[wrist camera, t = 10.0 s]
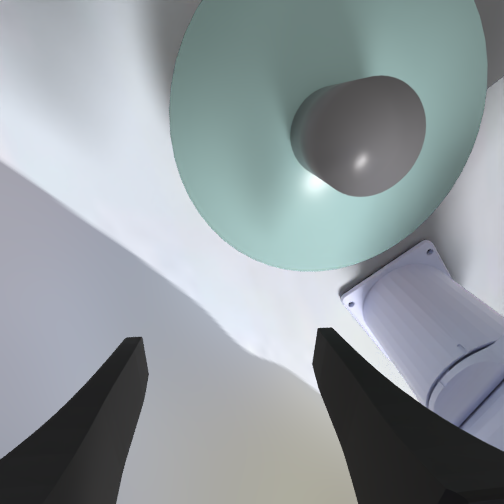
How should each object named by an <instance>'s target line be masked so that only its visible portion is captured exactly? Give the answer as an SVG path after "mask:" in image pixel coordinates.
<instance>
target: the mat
mask: <svg viewBox="0 0 504 504" xmlns="http://www.w3.org/2000/svg"><path fill="white" fill-rule="evenodd" d="M474 2H475V4H476V7H477V10H478V12H479V15H480V19H481V23H482V27H483V32H484V36H485V42H486V52H487V62H488V67H487V89H488V88H489V87H490V86H491V85H493V84H494V83H495V82H497V81H498V80H499V79H501V78H502V77H503V76H504V0H474Z"/></svg>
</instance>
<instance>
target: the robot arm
mask: <svg viewBox="0 0 504 504" xmlns="http://www.w3.org/2000/svg"><path fill="white" fill-rule="evenodd" d="M429 249H430V251H429V252H428V253H427V251H428V250H429ZM341 302H342V303H343V304H344V306H345V307H346V308H347V309H348V311H349V312H350V313H351V314H352V315H353V317H354V318H355V319H356V320H357V322H358V323H359V324H360V325H361V326H362V328H363V329H364V330H365V331H366V332H367V334H368V335H369V336H370V337H371V339H372V340H373V341H374V342H375V343H376V345H377V346H378V347H379V348H380V350H381V351H382V352H383V353H384V354H385V356H386V357H387V358H388V359H389V360H390V361H392V363H393V364H394V365H395V367H396V368H397V370H398V371H399V373H400V374H401V376H402V377H403V379H404V380H405V381H406V383H407V384H408V386H409V387H410V389H411V390H412V392H413V393H414V395H415V396H416V397H417V399H418V400H419V402H420V403H419V402H418V401H416V400H415V399H414V398H412V397H411V396H409V395H408V394H407V393H405V392H404V391H403V390H401V389H400V388H398V387H397V386H396V385H395V384H393V383H392V382H391V381H390V380H388V379H387V378H386V377H385V376H384V375H382V374H381V373H380V372H379V371H378V370H376V369H375V368H374V367H373V366H372V365H371V364H370V363H368V362H367V361H366V360H365V359H364V358H363V357H362V356H361V355H360V354H359V353H358V352H357V351H355V350H354V349H353V348H352V347H351V346H350V345H349V344H348V343H347V342H346V341H345V340H344V339H343V338H342V337H341V336H340V335H339V334H338V333H337V332H336V331H335V330H334V329H333V328H318V330H317V337H316V344H315V350H314V357H313V363H312V365H313V369H314V373H315V377H316V380H317V384H318V388H319V390H320V393H321V396H322V398H323V401H324V403H325V406H326V408H327V411H328V413H329V416H330V418H331V421H332V423H333V426H334V428H335V431H336V433H337V436H338V439H339V441H340V444H341V447H342V449H343V452H344V456H345V459H346V462H347V465H348V469H349V472H350V476H351V479H352V483H353V486H354V490H355V493H356V497H357V501H358V504H504V317H503V316H502V315H500V314H499V313H498V312H496V311H495V310H494V309H492V308H491V307H489V306H488V305H487V304H485V303H484V302H483V301H481V300H480V299H478V298H477V297H476V296H474V295H473V294H472V293H470V292H469V291H467V290H466V289H465V288H463V287H462V286H461V285H459V284H458V283H456V282H455V281H454V280H453V279H452V277H451V275H450V273H449V272H448V270H447V268H446V266H445V264H444V263H443V261H442V259H441V257H440V255H439V253H438V252H437V250H436V248H435V246H434V244H433V243H432V242H431V241H429V240H423V241H421V242H420V243H419V244H417V245H416V246H414V247H413V248H411V249H410V250H408V251H407V252H405V253H404V254H402V255H401V256H399V257H398V258H396V259H395V260H393V261H392V262H390V263H389V264H387V265H386V266H385V267H383V268H382V269H380V270H379V271H377V272H376V273H374V274H373V275H371V276H370V277H368V278H367V279H365V280H364V281H362V282H361V283H359V284H358V285H356V286H355V287H353V288H352V289H351V290H349V291H348V292H346V293H345V294H343V295H342V297H341ZM350 302H352V303H351V304H349V303H350ZM148 375H149V373H148V367H147V362H146V356H145V351H144V344H143V339H142V337H129V338H125V339H124V340H123V342H122V343H121V344H120V345H119V346H118V348H117V349H116V350H115V351H114V352H113V353H112V355H111V356H110V357H109V358H108V359H107V360H106V362H105V363H104V364H103V365H102V366H101V367H100V368H99V370H98V371H97V372H96V373H95V374H94V375H93V376H92V377H91V378H90V380H89V381H88V382H87V383H86V384H85V385H84V386H83V387H82V388H81V389H80V390H79V391H78V392H77V393H76V394H75V395H74V396H73V398H71V399H70V400H69V401H68V402H67V403H66V404H65V405H64V406H63V407H62V408H61V409H60V410H59V411H58V412H57V413H56V414H55V415H54V416H52V417H51V418H50V419H49V420H48V421H47V422H46V423H45V424H44V425H42V426H41V427H40V428H39V429H38V430H37V431H35V432H34V433H33V434H32V435H31V436H29V437H28V438H27V439H26V440H24V441H23V442H22V443H21V444H20V445H18V446H17V447H16V448H14V449H13V450H12V451H11V452H9V453H8V454H7V455H6V456H4V457H3V458H2V459H0V504H116V501H117V496H118V491H119V487H120V482H121V477H122V473H123V469H124V465H125V462H126V458H127V455H128V452H129V448H130V445H131V442H132V439H133V435H134V432H135V428H136V425H137V422H138V419H139V415H140V412H141V409H142V405H143V402H144V397H145V392H146V387H147V381H148Z"/></svg>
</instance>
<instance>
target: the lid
mask: <svg viewBox="0 0 504 504" xmlns="http://www.w3.org/2000/svg"><path fill="white" fill-rule="evenodd" d="M487 67H488V62H487V52H486V42H485V36H484V32H483V27H482V23H481V19H480V15H479V12H478V10H477V7H476V4H475V2H474V0H202V1H201V3H200V4H199V6H198V7H197V9H196V11H195V13H194V15H193V17H192V20H191V22H190V24H189V26H188V28H187V30H186V32H185V34H184V37H183V40H182V43H181V46H180V49H179V53H178V56H177V59H176V63H175V68H174V73H173V78H172V83H171V93H170V107H169V117H170V135H171V141H172V147H173V152H174V158H175V161H176V164H177V167H178V171H179V174H180V177H181V180H182V182H183V184H184V186H185V189H186V191H187V193H188V195H189V197H190V199H191V201H192V202H193V204H194V205H195V207H196V209H197V210H198V212H199V214H200V215H201V216H202V217H203V219H204V220H205V221H206V222H207V224H208V225H209V226H210V227H211V228H212V229H213V230H214V231H215V232H216V233H217V234H218V235H219V236H220V237H221V238H222V239H223V240H224V241H225V242H227V243H228V244H229V245H231V246H232V247H234V248H235V249H236V250H238V251H239V252H241V253H243V254H245V255H247V256H248V257H250V258H252V259H254V260H257V261H259V262H262V263H264V264H267V265H270V266H274V267H278V268H282V269H286V270H294V271H325V270H334V269H338V268H343V267H347V266H351V265H354V264H357V263H360V262H363V261H365V260H368V259H370V258H372V257H374V256H376V255H378V254H381V253H382V252H384V251H386V250H387V249H389V248H391V247H392V246H394V245H396V244H397V243H399V242H400V241H401V240H403V239H404V238H405V237H407V236H408V235H409V234H411V233H412V232H413V231H414V230H415V229H417V228H418V227H419V226H420V225H421V224H422V223H423V222H424V221H425V220H426V219H427V218H428V217H429V216H430V215H431V214H432V213H433V212H434V210H435V209H436V208H437V207H438V206H439V205H440V203H441V202H442V201H443V199H444V198H445V197H446V195H447V194H448V193H449V191H450V190H451V189H452V187H453V185H454V184H455V182H456V180H457V179H458V177H459V175H460V174H461V172H462V170H463V168H464V166H465V164H466V162H467V160H468V157H469V155H470V153H471V151H472V148H473V145H474V143H475V140H476V137H477V134H478V131H479V127H480V123H481V119H482V115H483V111H484V105H485V98H486V91H487Z"/></svg>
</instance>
